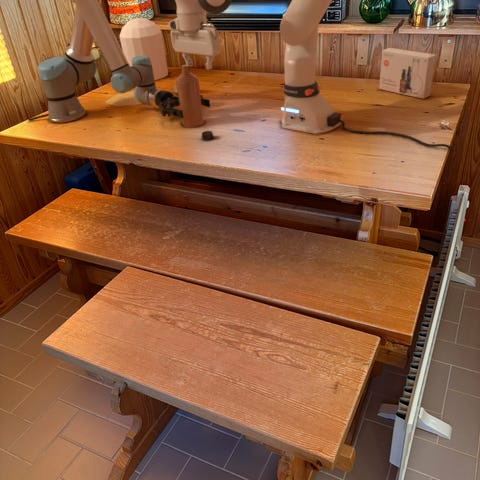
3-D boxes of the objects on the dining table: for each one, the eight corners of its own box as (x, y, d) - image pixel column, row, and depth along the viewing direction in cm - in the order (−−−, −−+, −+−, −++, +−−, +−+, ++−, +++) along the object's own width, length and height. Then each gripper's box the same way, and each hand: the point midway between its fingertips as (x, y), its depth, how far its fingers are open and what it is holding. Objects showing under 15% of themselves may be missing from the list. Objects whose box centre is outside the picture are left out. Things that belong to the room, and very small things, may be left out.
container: (160, 81, 233) (149, 21, 217) (121, 82, 238) (108, 23, 222) (174, 69, 249) (165, 13, 233) (138, 70, 254) (126, 15, 238)
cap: (205, 141, 164) (204, 135, 163) (200, 138, 167) (199, 132, 166) (215, 138, 166) (214, 133, 165) (209, 135, 169) (209, 129, 167)
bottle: (190, 118, 185) (182, 61, 172) (208, 120, 181) (200, 63, 169) (178, 126, 179) (168, 67, 167) (196, 128, 175) (187, 69, 163)
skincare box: (377, 89, 194) (381, 50, 185) (385, 86, 197) (389, 47, 188) (423, 99, 180) (429, 56, 171) (430, 95, 183) (437, 53, 174)
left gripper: (187, 99, 197) (220, 108, 184) (138, 117, 183) (171, 128, 170) (184, 82, 193) (218, 89, 180) (134, 99, 179) (168, 108, 166)
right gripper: (222, 21, 140) (228, 68, 148) (179, 19, 153) (187, 62, 160) (207, 25, 136) (213, 73, 144) (164, 23, 149) (173, 67, 157)
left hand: (196, 108), depth 175 cm, fingers open, 13 cm apart
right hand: (199, 67), depth 152 cm, fingers open, 8 cm apart
